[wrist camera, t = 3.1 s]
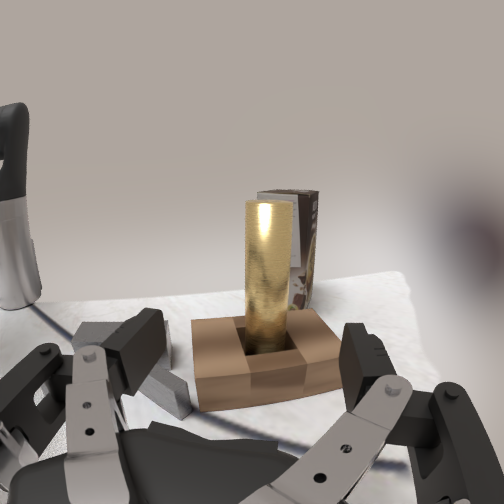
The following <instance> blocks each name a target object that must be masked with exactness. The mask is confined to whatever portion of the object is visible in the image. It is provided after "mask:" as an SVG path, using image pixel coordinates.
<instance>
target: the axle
mask: <svg viewBox="0 0 504 504" xmlns="http://www.w3.org/2000/svg"><path fill="white" fill-rule="evenodd" d="M245 217H246V218H245V222H246V223H245V226H246V227H245V230H246V231H245V356H251V355H259V354H267V353H274V352H281V351H284V349H285V337H286V325H287V311H288V297H289V281H290V264H291V244H292V221H293V202H290V201H284V200H248V201H246V216H245Z"/></svg>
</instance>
